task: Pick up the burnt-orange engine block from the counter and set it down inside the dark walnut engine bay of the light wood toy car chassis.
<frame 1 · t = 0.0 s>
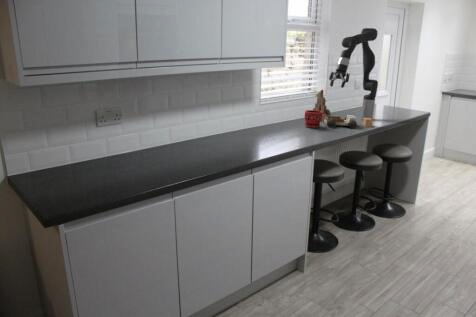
hand: (336, 86, 281), 31 cm above the worktop, tool tilted 20°, fingers open, 8 cm apart
wooden toy: (320, 120, 322), on the worktop
car chassis: (339, 125, 305), on the worktop
engine block: (367, 126, 306), on the worktop
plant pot: (312, 126, 298), on the worktop
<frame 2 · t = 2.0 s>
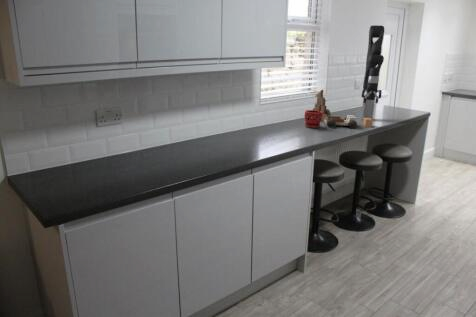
hand: (370, 103, 300), 18 cm above the worktop, tool pointing down, fingers open, 8 cm apart
nothing on the worktop moved.
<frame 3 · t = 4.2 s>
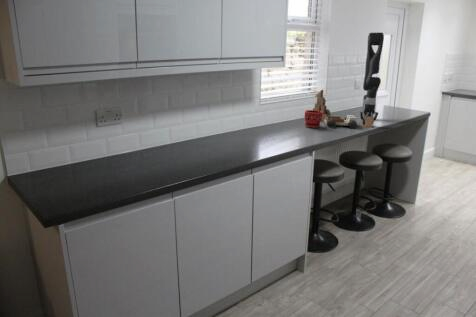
hand: (367, 124, 305), 1 cm above the worktop, tool pointing down, fingers closed on engine block, 5 cm apart
engine block: (367, 126, 306), on the worktop, touching gripper
everything else where it was.
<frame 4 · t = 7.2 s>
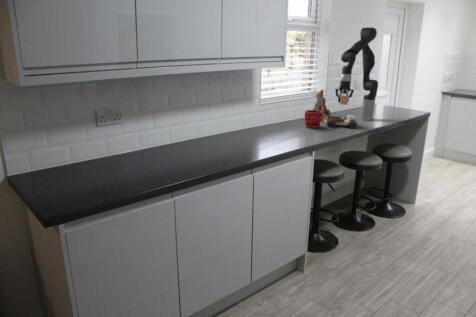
hand: (343, 102, 299), 18 cm above the worktop, tool pointing down, fingers closed on engine block, 5 cm apart
engine block: (342, 103, 299), point 17 cm above the worktop, touching gripper
everything else where it was.
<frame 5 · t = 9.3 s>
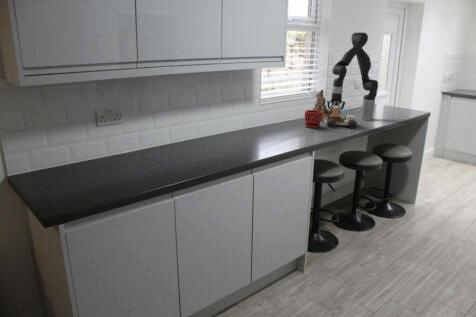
hand: (334, 114, 302), 9 cm above the worktop, tool pointing down, fingers closed on engine block, 5 cm apart
engine block: (334, 115, 302), point 8 cm above the worktop, touching gripper
everything else where it was.
when the fingers open (6 cm above the worktop, at t = 10.6 s): engine block drops 2 cm, resting on car chassis.
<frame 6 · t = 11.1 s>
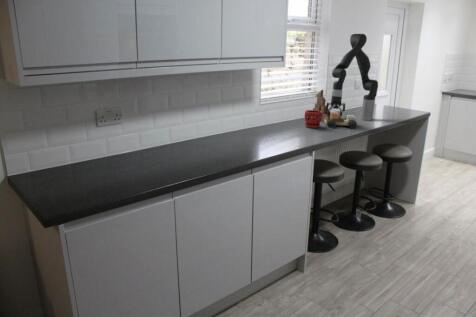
hand: (334, 116, 303), 7 cm above the worktop, tool pointing down, fingers open, 8 cm apart
engine block: (334, 120, 304), point 3 cm above the worktop, touching car chassis
everything else where it was.
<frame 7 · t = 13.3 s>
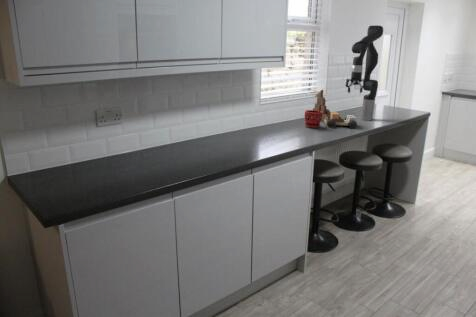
hand: (354, 92, 299), 25 cm above the worktop, tool pointing down, fingers open, 8 cm apart
nothing on the worktop moved.
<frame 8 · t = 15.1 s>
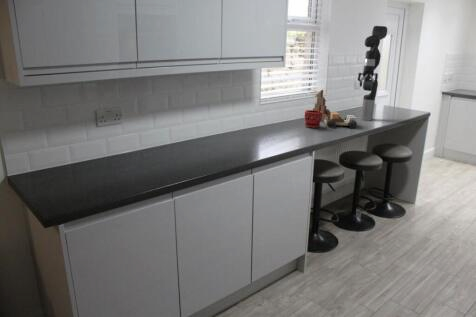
hand: (366, 86, 299), 30 cm above the worktop, tool pointing down, fingers open, 8 cm apart
nothing on the worktop moved.
at the end: engine block 0.1 cm from the target spot on the car chassis, point 3.5 cm above the car chassis's base; engine block tilted 0°; the gripper is holding nothing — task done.
